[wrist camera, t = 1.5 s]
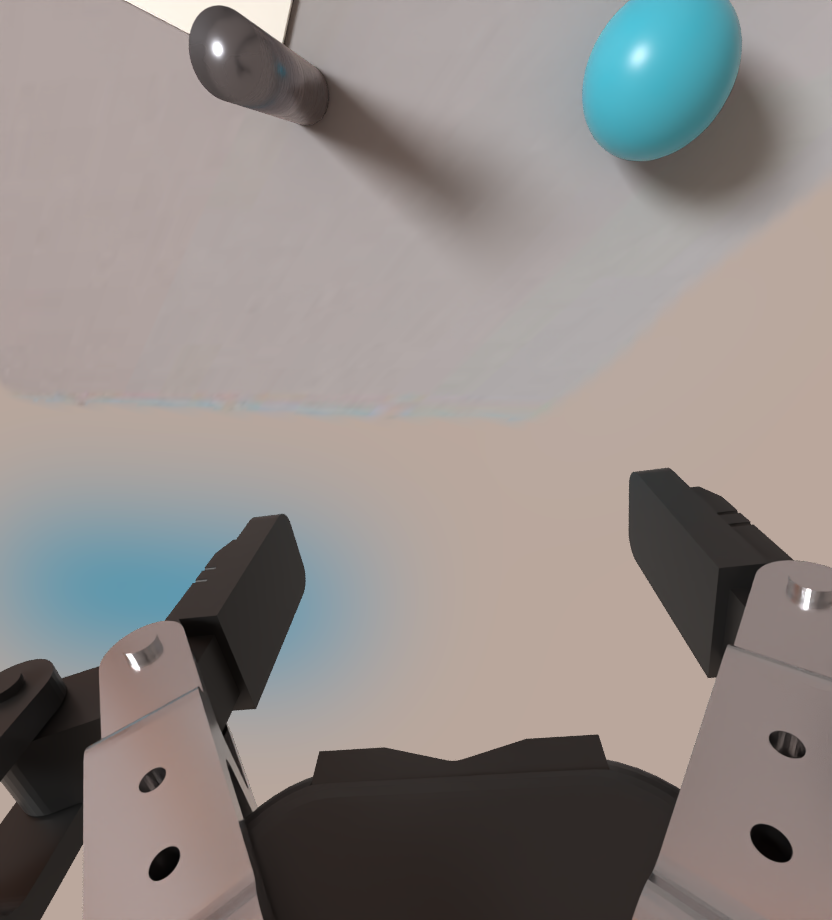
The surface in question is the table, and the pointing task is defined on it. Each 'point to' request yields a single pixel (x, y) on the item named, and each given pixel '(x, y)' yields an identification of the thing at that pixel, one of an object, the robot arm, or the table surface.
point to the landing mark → (260, 3)
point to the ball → (660, 75)
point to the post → (254, 68)
